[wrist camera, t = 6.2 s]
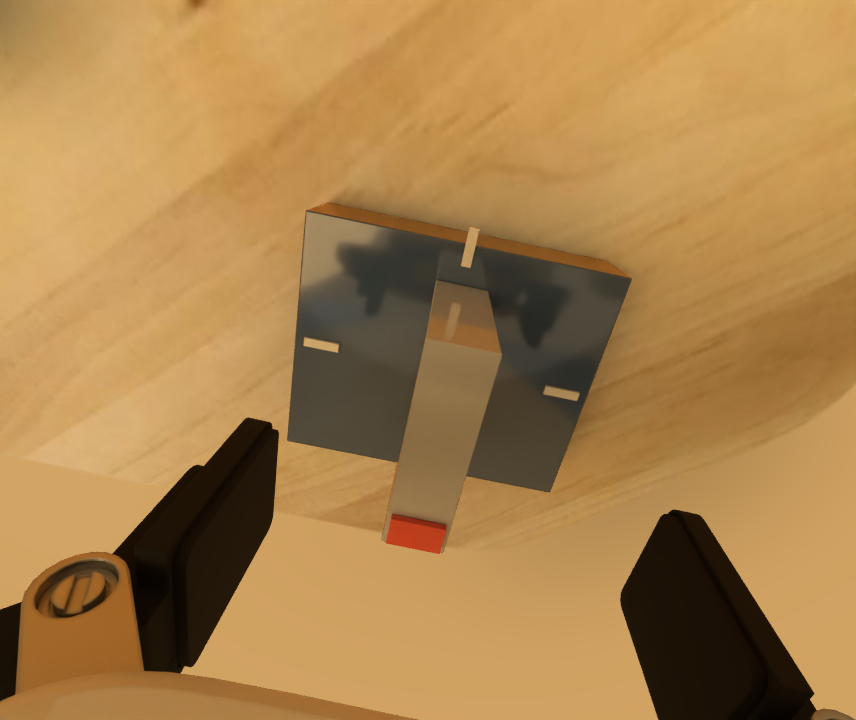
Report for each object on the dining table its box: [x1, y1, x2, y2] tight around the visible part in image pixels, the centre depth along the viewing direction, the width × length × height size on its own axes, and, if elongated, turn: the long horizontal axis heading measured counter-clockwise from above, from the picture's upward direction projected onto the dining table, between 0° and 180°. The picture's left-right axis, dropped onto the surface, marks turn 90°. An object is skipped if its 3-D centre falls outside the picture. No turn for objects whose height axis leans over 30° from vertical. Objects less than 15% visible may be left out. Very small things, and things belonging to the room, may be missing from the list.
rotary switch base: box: [287, 203, 632, 492], centre depth 20 cm, size 12×11×3 cm
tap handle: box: [382, 280, 502, 554], centre depth 16 cm, size 7×2×6 cm, turn 168°
